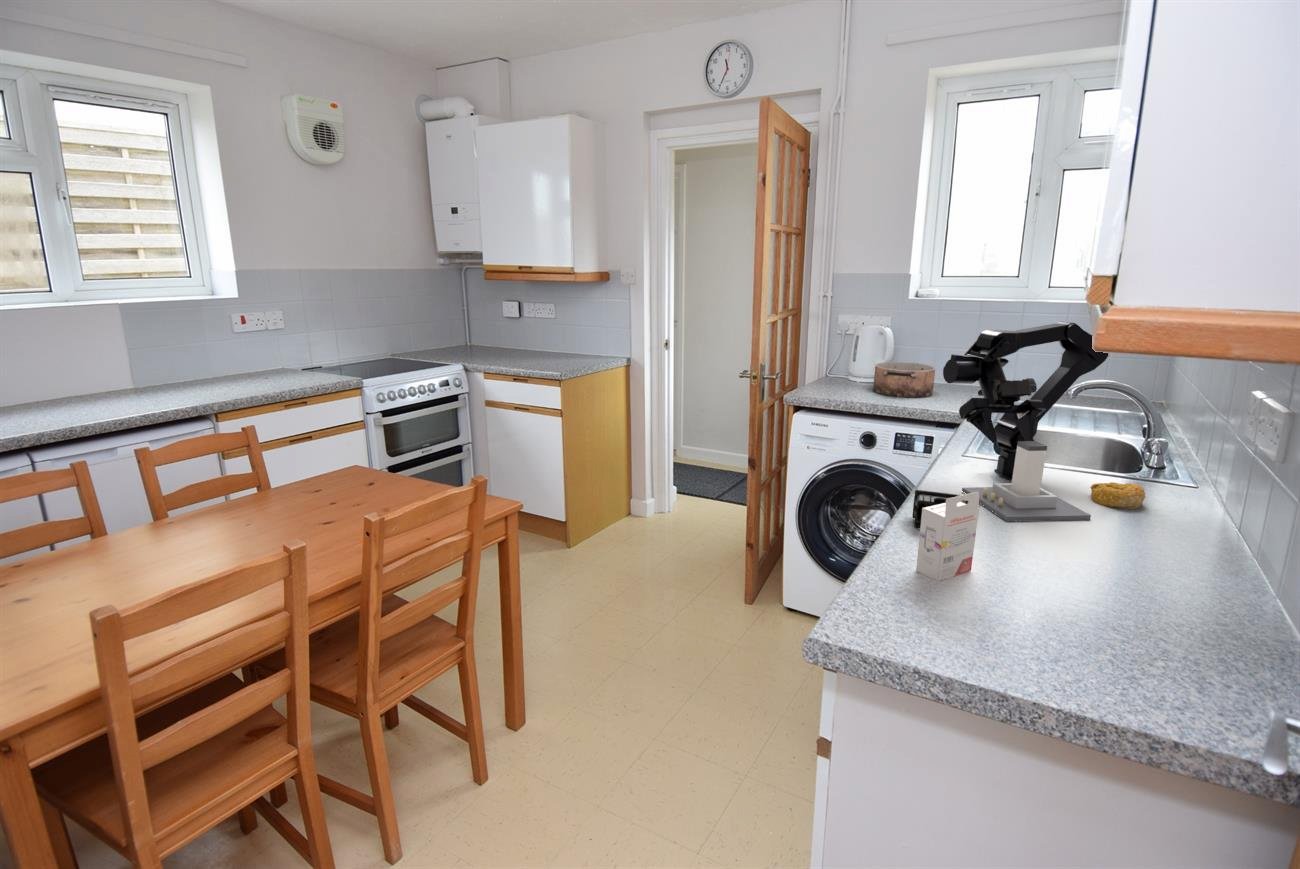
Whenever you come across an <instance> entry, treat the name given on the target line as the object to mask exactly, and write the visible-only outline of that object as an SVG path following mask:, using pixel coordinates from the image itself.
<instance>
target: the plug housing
mask: <svg viewBox="0 0 1300 869" xmlns="http://www.w3.org/2000/svg"><path fill="white" fill-rule="evenodd" d="M1047 451H1048V445H1046V444H1044V443H1041V442H1038V441H1036V440H1034V441H1018V444H1017V450H1016V457H1015V464H1014V470H1013V477H1012V479H1011V482H1010V483H1011V490H1010V491H1012V492H1013V493H1015V494H1017V495H1018V496H1034V495H1039V494H1040V488H1042V482H1043V481H1042V480H1043V474H1044V467H1045V461H1046V456H1047Z"/></svg>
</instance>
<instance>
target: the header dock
mask: <svg viewBox="0 0 1300 869" xmlns="http://www.w3.org/2000/svg"><path fill="white" fill-rule="evenodd" d="M1011 483H1012V482H1006V483H1005V482H1002V483H999V482H997V483H996V482H995V483H993V484H992V486H986V487H985V486H983V487H982V486H981V487H978V486H977V487H975V486H974V487H962V489H961V492H962V491H963V492H965V493H966V494H970V493H974V492H979V504H980V503H981V504H982V505H981V504H980V505H981V506H983V505H984V506H985V507H984V506H983V507H984V508H986V507H987V508H988V509H987V508H986V509H987V510H988V511H990V510H991V511H990V512H992V511H993V512H994V513H993V512H992V513H993V514H995V513H996V514H997V515H996V514H995V515H996V516H998V517H999V516H1000V517H999V518H1000V519H1002V518H1003V519H1002V520H1004V521H1005V522H1042V521H1043V522H1047V521H1089V520H1091V518H1092V515H1091V514H1089V513H1088V512H1085V511H1084V510H1083V509H1080V508H1079V507H1076V506H1074V505H1073V504H1072V503H1069V502H1067V501H1065V500H1063V499H1062V498H1060V497H1059V496H1057V495H1056V494H1054V493H1052V492H1050V491H1047V490H1046V489H1044V488H1043V487H1041V488H1040V494H1039V495H1034V496H1018V495H1017V494H1015V493H1013V492H1012V491H1010V490H1011ZM963 492H962V493H963ZM965 493H964V494H965Z"/></svg>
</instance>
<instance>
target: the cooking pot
mask: <svg viewBox="0 0 1300 869" xmlns="http://www.w3.org/2000/svg"><path fill="white" fill-rule="evenodd" d="M935 374H936V367H935V366H932V365H929V364H926V363H925V364H924V363H918V362H906V361H885V362H884V361H883V362H878V363H876V364H875V367H874V375H873V376H874V378H873V387H872V389H873V392H874V393H876V394H878V395H881V396H886V397H891V398H892V397H893V398H898V399H899V398H901V399H902V398H903V399H923V398H929V397H931V396H932V395H933V392H934V385H935V384H934V383H935Z"/></svg>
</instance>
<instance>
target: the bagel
mask: <svg viewBox="0 0 1300 869" xmlns="http://www.w3.org/2000/svg"><path fill="white" fill-rule="evenodd" d="M1090 489H1091V490H1090V492H1091V497H1092V501H1093V502H1095V503H1096V504H1099V505H1103V506H1106V507H1110V508H1117V509H1118V508H1119V509H1129V510H1135V509H1138V508H1140V507H1141V506H1142V504H1143V502H1144V500H1145V498H1146V491H1145V489H1144V487H1142V486H1140V485H1139V484H1136V483H1131V482H1129V483H1128V482H1127V483H1118V482H1103V483H1101V482H1100V483H1099V482H1097V483H1093V484H1092V485H1091V486H1090Z"/></svg>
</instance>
